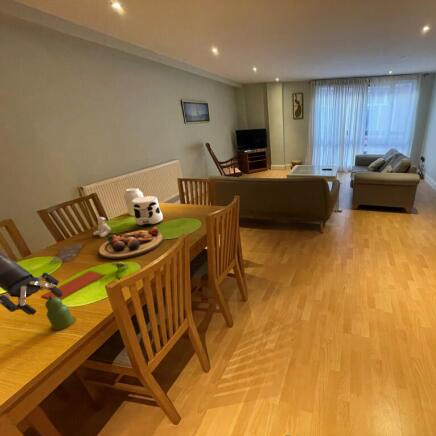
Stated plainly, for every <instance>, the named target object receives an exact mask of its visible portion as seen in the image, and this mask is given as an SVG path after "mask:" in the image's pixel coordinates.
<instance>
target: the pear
mask: <svg viewBox="0 0 436 436" xmlns="http://www.w3.org/2000/svg"><path fill="white" fill-rule="evenodd" d="M49 298H50V299H47V300H46V301H45V304H44V306H45V308H46V310H47V312H46V318H47V320H48V321H49V323H50V325H51V327H52V329H53V330H54V331H60V330H63V329H65V328H67V327H69V326H71V325H72V324H73V323H74V318H73V315H72V313H71V311H70V309H69V307H68V305H66V304H63V301H62V299H59V298H57V297H54V298H52V296H49Z"/></svg>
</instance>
